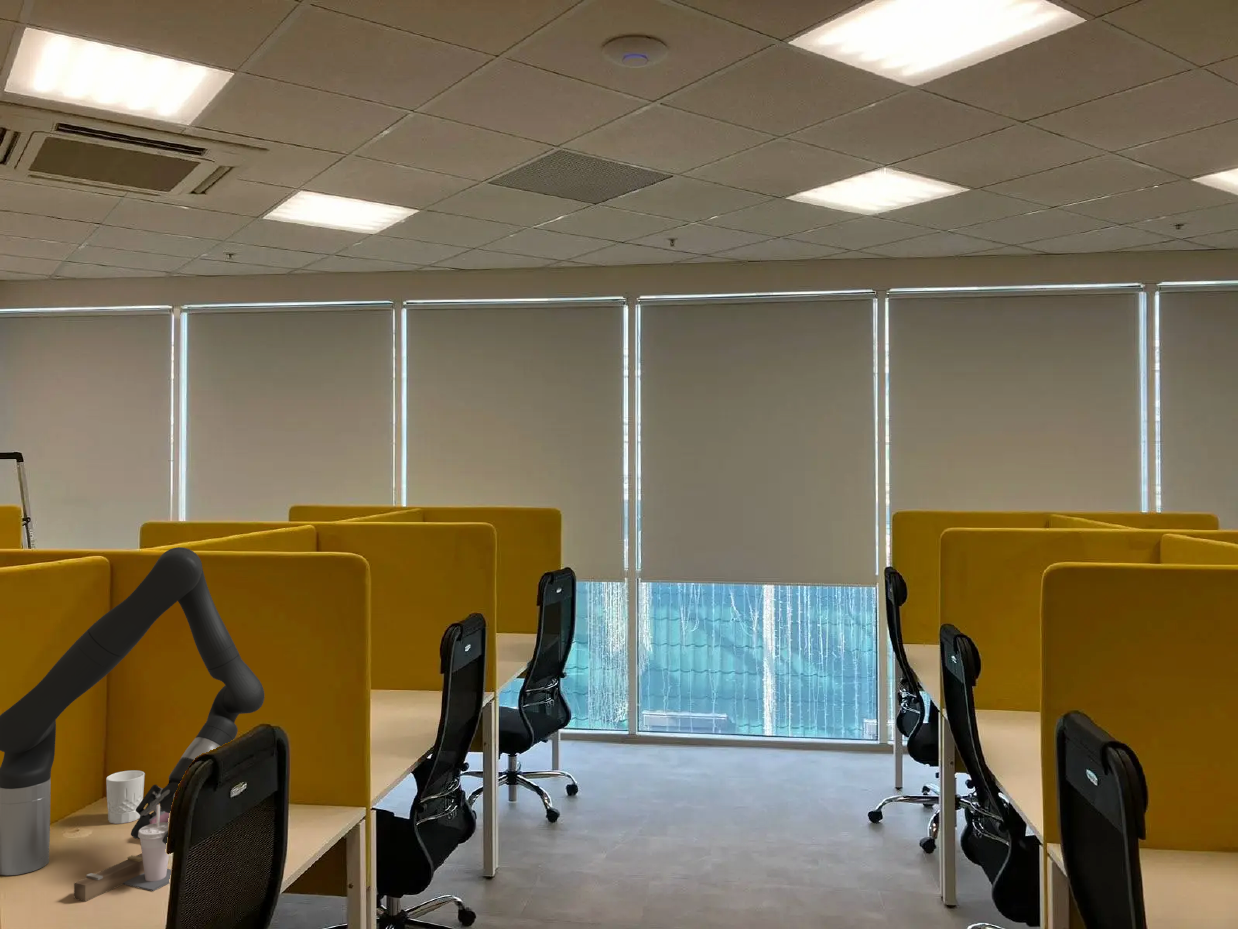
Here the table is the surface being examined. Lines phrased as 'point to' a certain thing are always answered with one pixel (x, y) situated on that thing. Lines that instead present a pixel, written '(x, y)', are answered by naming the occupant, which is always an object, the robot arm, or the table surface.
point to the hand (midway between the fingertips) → (150, 840)
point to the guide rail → (108, 878)
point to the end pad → (148, 882)
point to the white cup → (124, 795)
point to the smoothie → (154, 849)
